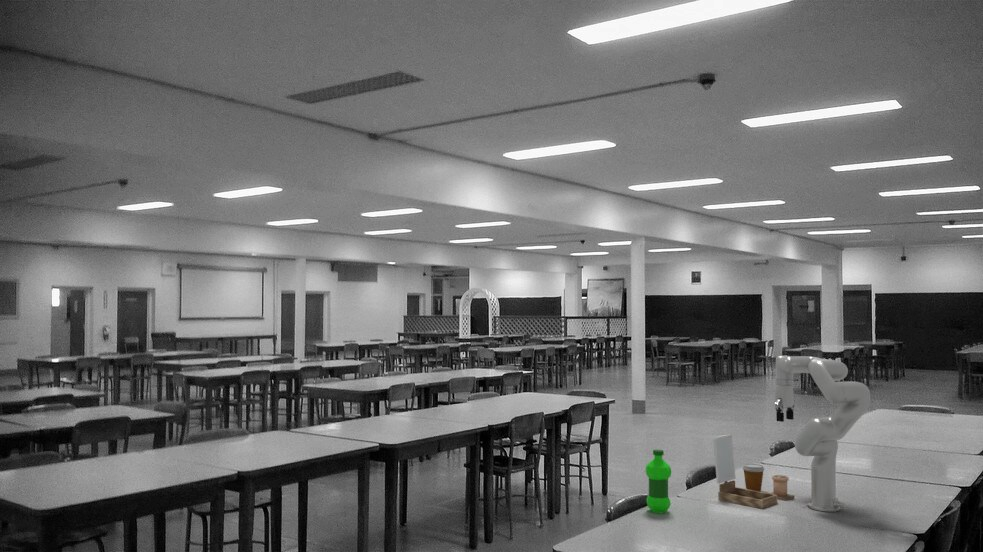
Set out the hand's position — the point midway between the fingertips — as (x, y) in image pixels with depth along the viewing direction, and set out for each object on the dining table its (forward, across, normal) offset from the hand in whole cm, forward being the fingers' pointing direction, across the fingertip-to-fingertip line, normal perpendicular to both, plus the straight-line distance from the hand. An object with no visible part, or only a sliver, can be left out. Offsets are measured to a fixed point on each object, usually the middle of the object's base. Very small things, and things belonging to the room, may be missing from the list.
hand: (785, 420), depth 340 cm
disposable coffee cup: (+34, +7, -12) cm, 36 cm away
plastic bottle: (+34, +69, -22) cm, 80 cm away
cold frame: (+33, +28, -5) cm, 44 cm away
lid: (+16, +28, -14) cm, 35 cm away
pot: (+32, +10, +2) cm, 33 cm away
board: (+33, +10, +2) cm, 35 cm away
